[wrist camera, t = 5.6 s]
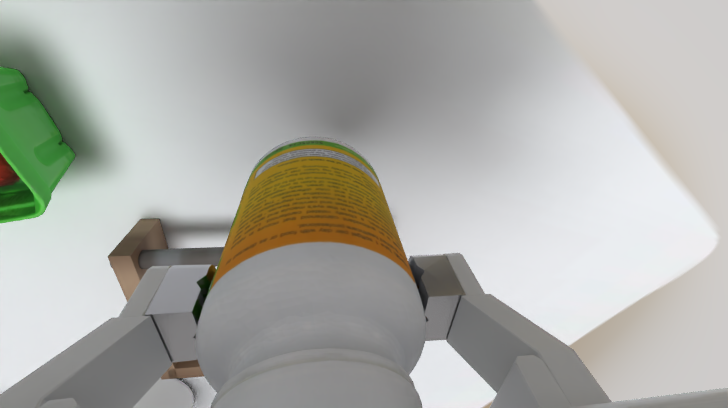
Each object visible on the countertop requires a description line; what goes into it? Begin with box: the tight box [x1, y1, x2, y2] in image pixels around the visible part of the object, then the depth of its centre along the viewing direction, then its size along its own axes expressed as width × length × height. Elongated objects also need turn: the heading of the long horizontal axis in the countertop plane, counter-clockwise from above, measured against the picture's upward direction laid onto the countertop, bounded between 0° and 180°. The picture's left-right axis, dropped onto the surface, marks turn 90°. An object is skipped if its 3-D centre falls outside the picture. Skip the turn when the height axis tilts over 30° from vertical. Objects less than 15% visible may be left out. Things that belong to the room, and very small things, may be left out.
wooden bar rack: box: [108, 219, 224, 380], centre depth 24 cm, size 12×18×4 cm
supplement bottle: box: [195, 137, 426, 408], centre depth 9 cm, size 5×5×10 cm
